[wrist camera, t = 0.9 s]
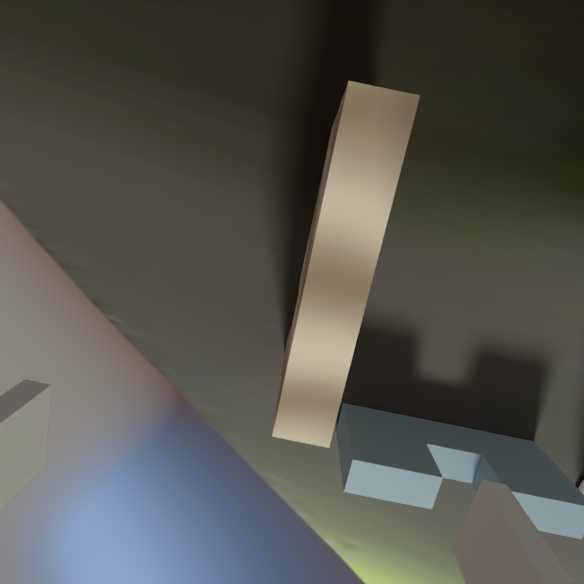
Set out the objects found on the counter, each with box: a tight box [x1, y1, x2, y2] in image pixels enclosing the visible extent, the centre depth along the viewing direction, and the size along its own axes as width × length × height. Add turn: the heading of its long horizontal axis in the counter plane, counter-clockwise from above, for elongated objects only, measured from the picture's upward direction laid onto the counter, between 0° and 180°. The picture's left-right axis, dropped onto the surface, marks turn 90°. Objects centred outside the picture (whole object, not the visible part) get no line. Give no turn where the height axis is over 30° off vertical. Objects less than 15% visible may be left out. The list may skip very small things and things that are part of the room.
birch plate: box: [272, 81, 420, 448], centre depth 23 cm, size 17×3×11 cm, turn 169°
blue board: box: [336, 403, 584, 539], centre depth 29 cm, size 16×2×7 cm, turn 79°
